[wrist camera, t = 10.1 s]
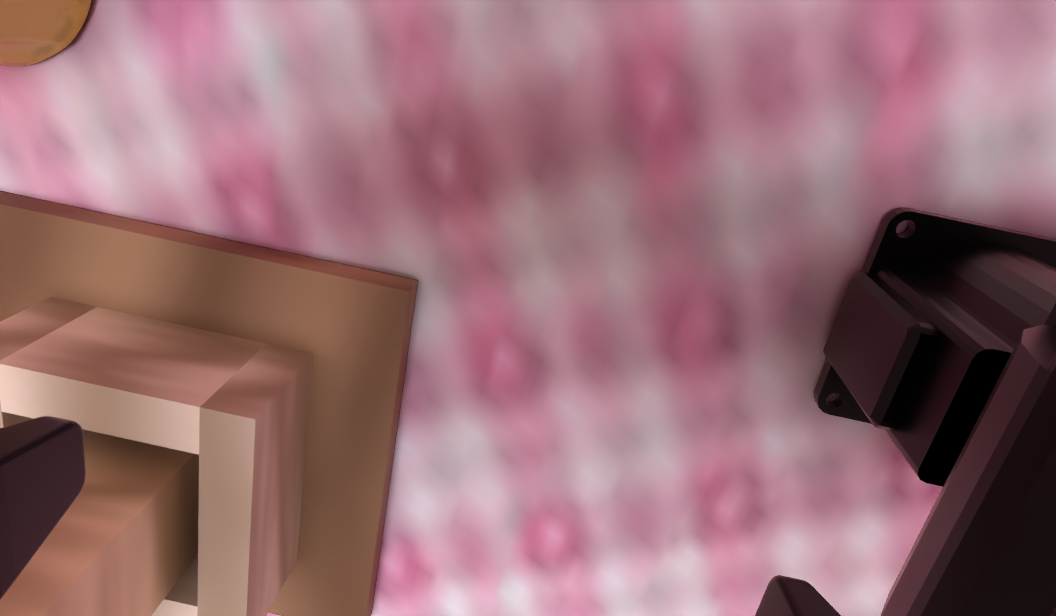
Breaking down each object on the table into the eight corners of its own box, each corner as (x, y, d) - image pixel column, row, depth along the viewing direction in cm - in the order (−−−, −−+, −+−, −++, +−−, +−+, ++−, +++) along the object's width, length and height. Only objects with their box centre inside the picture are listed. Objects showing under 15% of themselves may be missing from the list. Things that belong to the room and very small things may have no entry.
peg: (243, 402, 23) (1, 657, 14) (239, 500, 24) (18, 789, 15) (124, 376, 23) (-197, 611, 14) (127, 475, 24) (-160, 748, 15)
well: (418, 280, 22) (369, 348, 17) (371, 613, 27) (324, 733, 22) (-17, 187, 22) (-181, 229, 17) (22, 535, 27) (-96, 638, 23)
